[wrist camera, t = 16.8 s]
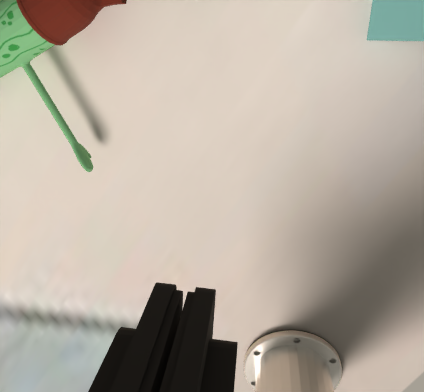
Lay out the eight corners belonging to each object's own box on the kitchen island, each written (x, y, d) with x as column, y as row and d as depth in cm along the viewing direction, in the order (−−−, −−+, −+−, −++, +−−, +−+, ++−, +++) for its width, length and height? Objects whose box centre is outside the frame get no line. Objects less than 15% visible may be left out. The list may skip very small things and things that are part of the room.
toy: (102, -273, 28) (-139, -52, 38) (46, -357, 21) (-227, -63, 31) (255, 91, 37) (29, 191, 47) (248, 110, 31) (-11, 221, 41)
